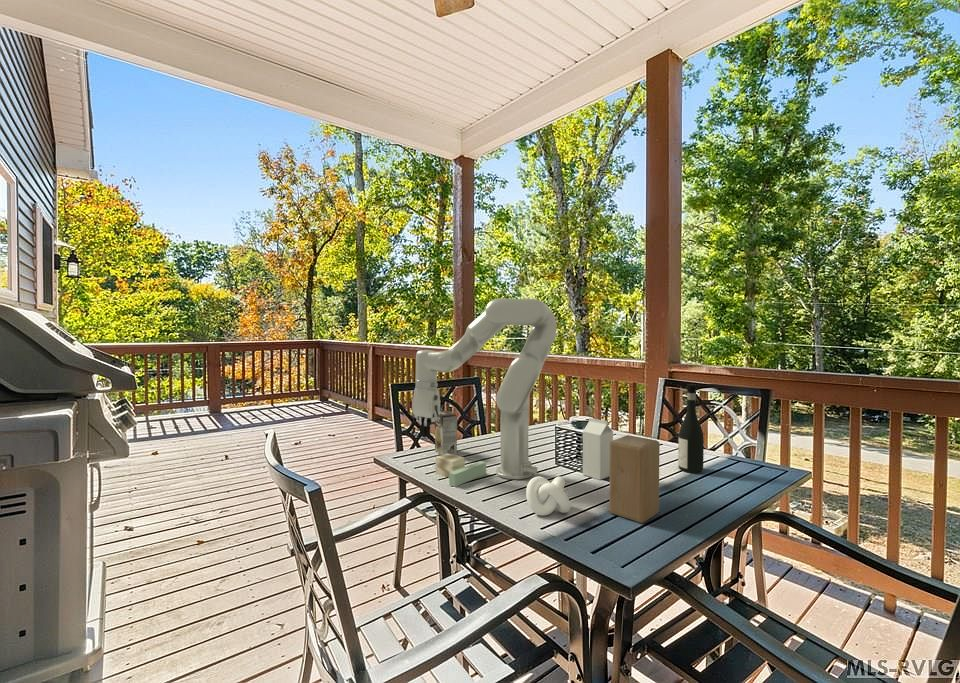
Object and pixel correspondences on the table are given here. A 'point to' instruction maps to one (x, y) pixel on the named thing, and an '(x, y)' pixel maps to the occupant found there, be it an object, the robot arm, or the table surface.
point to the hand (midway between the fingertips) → (425, 436)
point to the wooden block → (634, 478)
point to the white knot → (547, 496)
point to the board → (467, 473)
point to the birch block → (448, 464)
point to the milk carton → (597, 449)
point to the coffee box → (446, 433)
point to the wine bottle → (691, 437)
